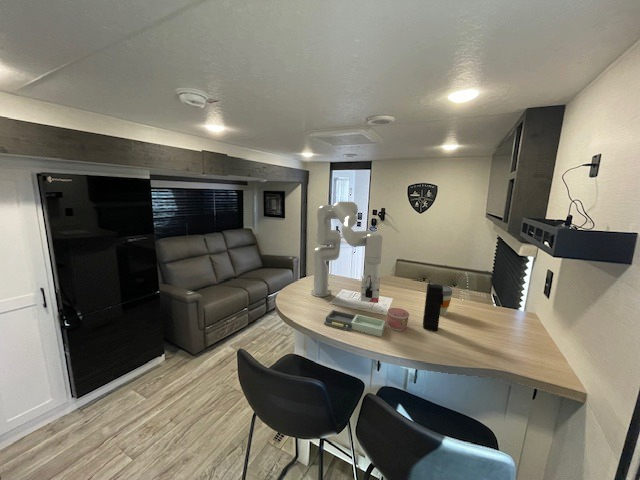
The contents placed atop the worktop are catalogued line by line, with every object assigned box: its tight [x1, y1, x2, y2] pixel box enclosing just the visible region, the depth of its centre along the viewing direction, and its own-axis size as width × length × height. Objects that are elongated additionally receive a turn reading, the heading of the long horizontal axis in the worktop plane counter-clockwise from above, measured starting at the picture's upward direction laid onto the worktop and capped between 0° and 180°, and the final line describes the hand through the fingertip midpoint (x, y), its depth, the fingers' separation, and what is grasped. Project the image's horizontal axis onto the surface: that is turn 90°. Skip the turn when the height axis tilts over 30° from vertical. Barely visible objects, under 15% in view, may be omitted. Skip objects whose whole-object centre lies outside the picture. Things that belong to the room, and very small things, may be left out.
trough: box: [351, 314, 386, 337], centre depth 127 cm, size 10×15×4 cm, turn 66°
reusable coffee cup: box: [433, 283, 453, 316], centre depth 147 cm, size 12×13×15 cm
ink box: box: [360, 275, 381, 304], centre depth 123 cm, size 9×5×12 cm, turn 78°
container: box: [386, 307, 410, 332], centre depth 128 cm, size 10×10×8 cm
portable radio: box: [422, 280, 443, 332], centre depth 127 cm, size 8×6×25 cm
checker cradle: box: [323, 309, 356, 332], centre depth 132 cm, size 14×14×3 cm
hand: (370, 294), depth 124 cm, fingers closed on ink box, 5 cm apart
